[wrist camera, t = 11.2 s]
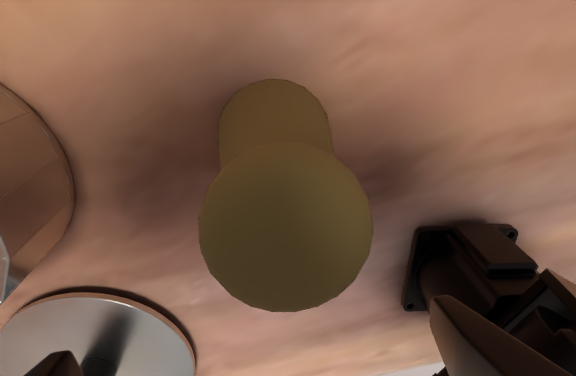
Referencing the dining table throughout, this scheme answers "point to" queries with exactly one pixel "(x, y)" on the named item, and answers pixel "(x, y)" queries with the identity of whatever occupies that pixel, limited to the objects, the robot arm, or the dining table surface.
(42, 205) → the pot
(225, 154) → the cork
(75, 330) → the lid
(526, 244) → the dining table surface
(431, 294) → the robot arm
